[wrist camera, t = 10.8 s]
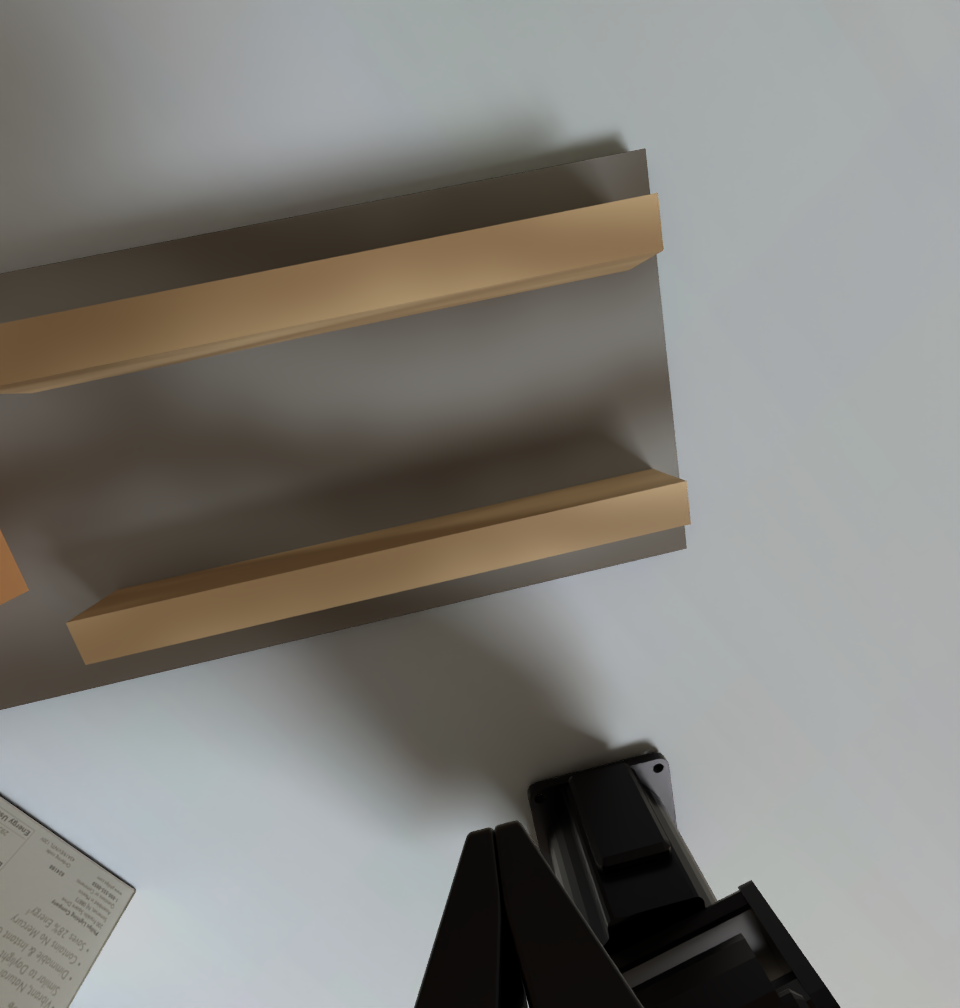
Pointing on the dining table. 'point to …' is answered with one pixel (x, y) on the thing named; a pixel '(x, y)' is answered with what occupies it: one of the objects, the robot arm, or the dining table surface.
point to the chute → (331, 422)
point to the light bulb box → (50, 913)
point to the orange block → (9, 574)
